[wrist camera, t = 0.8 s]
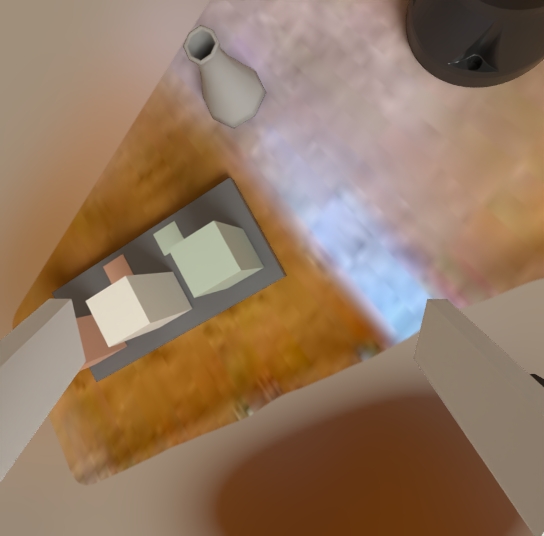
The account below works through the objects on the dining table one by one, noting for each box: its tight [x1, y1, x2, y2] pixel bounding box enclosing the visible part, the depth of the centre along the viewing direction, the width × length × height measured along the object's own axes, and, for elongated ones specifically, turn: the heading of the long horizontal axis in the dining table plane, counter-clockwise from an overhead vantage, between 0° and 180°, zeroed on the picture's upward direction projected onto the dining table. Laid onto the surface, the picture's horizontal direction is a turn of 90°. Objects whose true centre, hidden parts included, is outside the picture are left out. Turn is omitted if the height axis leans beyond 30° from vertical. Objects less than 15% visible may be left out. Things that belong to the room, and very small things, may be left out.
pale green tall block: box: [169, 221, 264, 298], centre depth 34 cm, size 5×5×9 cm
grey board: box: [52, 177, 287, 382], centre depth 42 cm, size 28×13×2 cm, turn 120°
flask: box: [183, 25, 266, 128], centre depth 35 cm, size 7×7×10 cm
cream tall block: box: [86, 272, 192, 347], centre depth 36 cm, size 5×5×9 cm
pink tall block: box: [76, 315, 127, 371], centre depth 38 cm, size 5×5×9 cm
